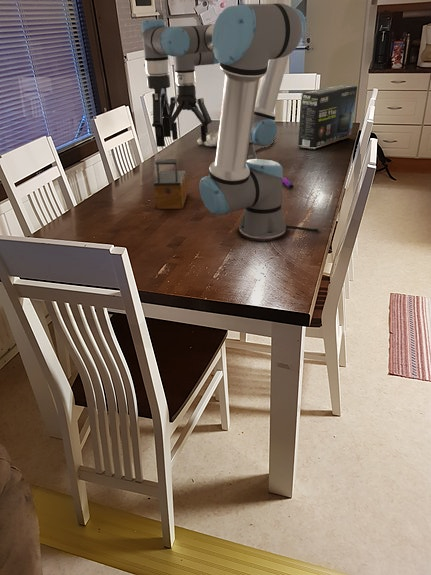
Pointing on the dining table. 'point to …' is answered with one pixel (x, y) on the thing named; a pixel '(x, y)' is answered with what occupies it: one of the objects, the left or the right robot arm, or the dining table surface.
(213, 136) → the fossil
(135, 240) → the dining table surface
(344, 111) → the router box
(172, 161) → the lid
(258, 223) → the right robot arm
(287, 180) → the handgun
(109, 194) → the dining table surface
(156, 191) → the chest
